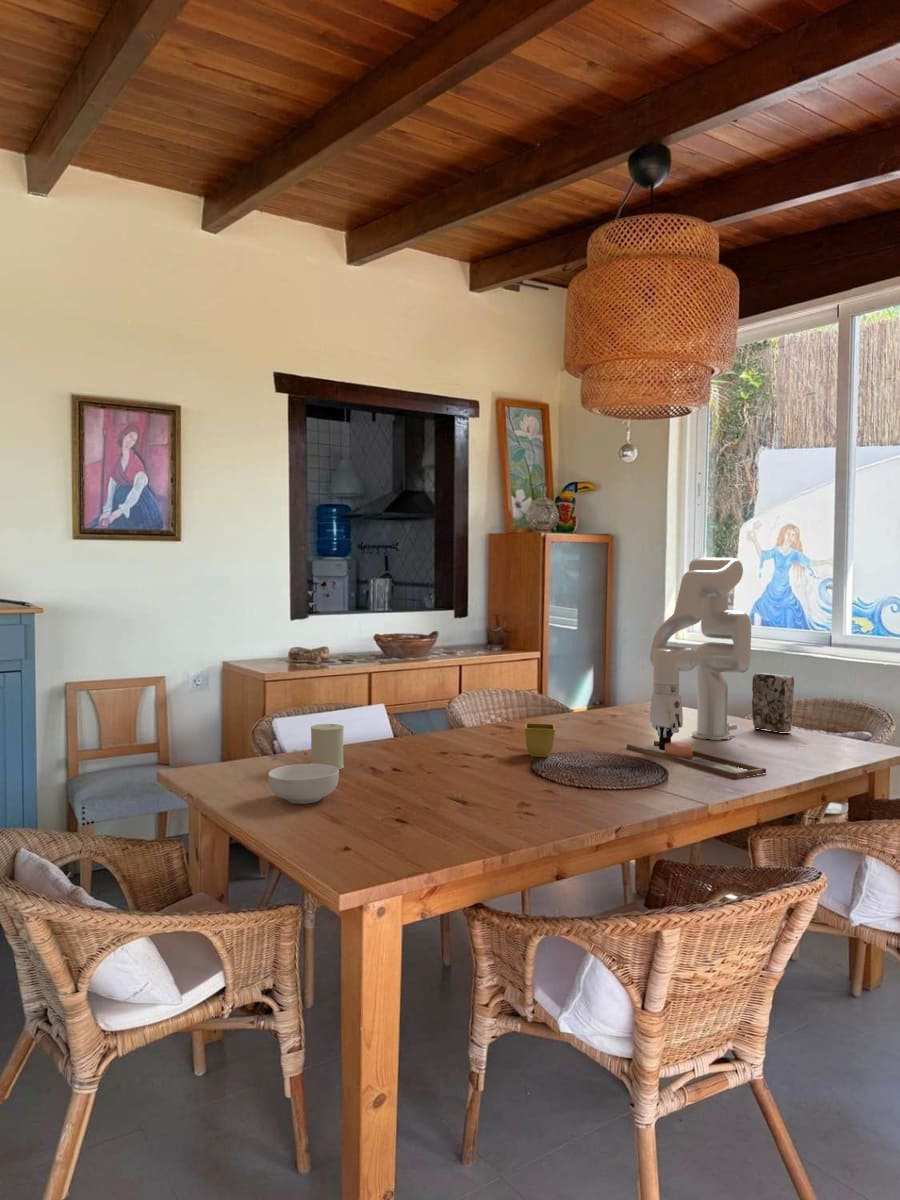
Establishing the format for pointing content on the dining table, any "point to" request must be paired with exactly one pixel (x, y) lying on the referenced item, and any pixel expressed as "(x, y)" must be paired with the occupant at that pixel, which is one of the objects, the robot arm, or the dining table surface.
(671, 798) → the dining table surface
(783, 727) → the stone block
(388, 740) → the dining table surface
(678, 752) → the salmon rounded disc
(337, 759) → the can
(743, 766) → the trap lane
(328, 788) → the cereal bowl
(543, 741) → the flower pot
